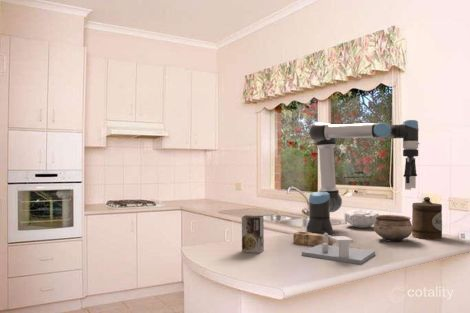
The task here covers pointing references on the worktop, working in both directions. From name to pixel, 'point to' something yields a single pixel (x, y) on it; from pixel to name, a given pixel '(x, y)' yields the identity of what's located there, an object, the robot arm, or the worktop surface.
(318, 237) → the link
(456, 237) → the worktop surface
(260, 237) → the coffee box
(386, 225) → the cooking pot
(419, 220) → the wooden container
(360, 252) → the pintle base
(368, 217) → the bowl
